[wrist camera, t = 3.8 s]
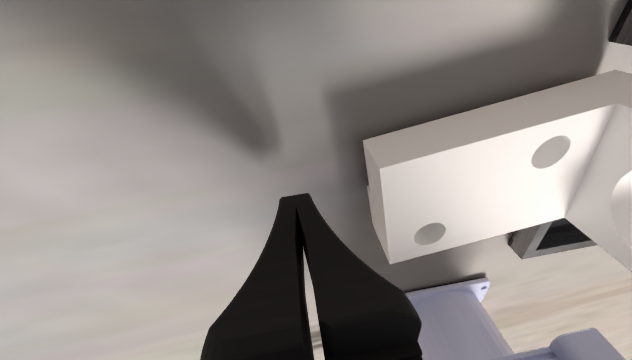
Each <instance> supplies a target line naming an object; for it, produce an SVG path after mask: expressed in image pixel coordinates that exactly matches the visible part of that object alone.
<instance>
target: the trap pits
mask: <svg viewBox="0 0 632 360" xmlns="http://www.w3.org/2000/svg"><path fill="white" fill-rule="evenodd" d="M609 42H614V43H620V44H625V45H630V46H632V0H629V1H628V3H627V5H626V7H625V9H624V11H623V13H622V15H621V17H620V19H619V21H618V23H617V25H616V27H615V29H614V31H613V33H612V35H611V37H610V39H609ZM508 245H509V246H510V247H511V248H512V249H513V250H514V252H515V253H516V254H517V255H518V256H519V257H520V258H521V259H526V258H531V257H536V256H542V255H547V254H552V253H557V252H563V251H568V250H573V249H579V248H584V247H589V246H595V245H598V244H596V243H595V242H594V241H593V240H591V239H590V238H589V237H588V236H586V235H585V234H584V233H583V232H582V231H580V230H579V229H578V228H577V227H575V226H574V225H573V224H572V223H570V222H569V221H568V220H567V219H565V218H561V219H558V220H554V221H550V222H546V223H543V224H539V225H535V226H532V227H528V228H524V229H520V230H517V231H514V233H513V235H512V237H511V239H510V241H509V243H508Z"/></svg>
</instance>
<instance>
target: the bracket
mask: <svg viewBox="0 0 632 360" xmlns="http://www.w3.org/2000/svg"><path fill="white" fill-rule="evenodd" d="M363 146H364V153H365V160H366V167H367V174H368V181H369V185H367V190H368V197H369V203H370V210H371V217H372V223H373V227H374V229H375V231H376V234H377V236H378V238H379V241H380V243H381V245H382V247H383V250H384V252H385V254H386V257H387V259H388V261H389V264H394V263H398V262H401V261H405V260H409V259H413V258H416V257H420V256H424V255H427V254H431V253H435V252H439V251H442V250H446V249H450V248H454V247H457V246H461V245H465V244H468V243H472V242H476V241H480V240H483V239H487V238H491V237H494V236H498V235H502V234H506V233H509V232H513V231H517V230H520V229H524V228H528V227H532V226H535V225H539V224H543V223H546V222H550V221H554V220H558V219H561V218H565V219H567V220H568V221H569V222H570V223H572V224H573V225H574V226H575V227H577V228H578V229H579V230H580V231H582V232H583V233H584V234H585V235H586V236H588V237H589V238H590V239H591V240H593V241H594V242H595V243H596V244H598V245H599V246H600V247H601V248H603V249H604V250H605V251H606V252H608V253H609V254H610V255H611V256H612V257H614V258H615V259H616V260H617V261H619V262H620V263H621V264H622V265H624V266H625V267H626V268H627V269H629V270H630V271H631V272H632V74H630V73H626V72H622V71H619V70H613V71H610V72H606V73H603V74H599V75H596V76H592V77H588V78H585V79H581V80H578V81H574V82H570V83H567V84H563V85H560V86H556V87H552V88H549V89H545V90H542V91H538V92H534V93H531V94H527V95H524V96H520V97H516V98H513V99H509V100H506V101H502V102H498V103H495V104H491V105H488V106H484V107H481V108H477V109H473V110H470V111H466V112H463V113H459V114H455V115H452V116H448V117H445V118H441V119H437V120H434V121H430V122H427V123H423V124H419V125H416V126H412V127H409V128H405V129H401V130H398V131H394V132H391V133H387V134H384V135H380V136H376V137H373V138H369V139H366V140H363Z"/></svg>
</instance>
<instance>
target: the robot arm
mask: <svg viewBox="0 0 632 360" xmlns="http://www.w3.org/2000/svg"><path fill="white" fill-rule="evenodd" d="M303 248H304V252H305V256H306V260H307V264H308V268H309V272H310V276H311V280H312V284H313V288H314V294H315V301H316V307H317V314H318V320H319V326H320V332H321V338H322V344H323V350H324V356H325V360H625V359H624V358H623V356H622V355H621V354H620V353H619V352H618V351H617V350H616V349H615V348H614V347H613V346H612V345H611V344H610V343H609V342H608V341H607V340H606V338H605V337H604V336H603V335H602V334H601V333H600V332H599V331H598V330H597V329H595V328H589V329H585V330H580V331H575V332H570V333H566V334H563V335H560V336H558V337H557V338H555V339H554V340H553V341H552V342H551V344H550V346H549V347H544V348H539V349H535V350H530V351H525V352H521V353H516V354H514V352H513V351H512V349H511V348H510V346H509V345H508V343H507V342H506V340H505V339H504V337H503V336H502V334H501V333H500V331H499V330H498V328H497V327H496V325H495V324H494V322H493V321H492V319H491V318H490V316H489V315H488V313H487V312H486V310H485V309H484V307H483V306H482V304H481V301H482V299H483V297H484V295H485V293H486V291H487V289H488V287H489V285H490V283H491V282H490V281H489V279H488V278H481V279H476V280H471V281H465V282H460V283H455V284H450V285H444V286H439V287H434V288H429V289H424V290H418V291H413V292H408V293H404V292H403V291H402V290H401V289H399V288H397V287H396V286H394V285H393V284H391V283H390V282H388V281H387V280H386V279H384V278H383V277H381V276H380V275H379V274H377V273H376V272H375V271H373V270H372V269H371V268H370V267H369V266H367V265H366V264H365V263H364V262H363V261H361V260H360V259H359V258H358V257H357V256H356V255H355V254H354V253H353V252H352V251H351V250H349V249H348V248H347V246H346V245H345V244H344V243H343V242H342V241H341V240H340V239H339V238H338V237H337V236H336V234H335V233H334V232H333V231H332V230H331V228H330V227H329V226H328V224H327V223H326V222H325V220H324V219H323V217H322V216H321V214H320V213H319V211H318V210H317V208H316V206H315V204H314V203H313V201H312V198H311V196H310V194H308V193H305V194H299V195H293V196H287V197H282V198H281V199H280V201H279V207H278V211H277V215H276V218H275V221H274V224H273V227H272V230H271V233H270V235H269V238H268V240H267V242H266V245H265V247H264V249H263V251H262V253H261V255H260V257H259V259H258V261H257V263H256V265H255V266H254V268H253V270H252V272H251V273H250V275H249V277H248V278H247V280H246V281H245V283H244V284H243V286H242V287H241V289H240V290H239V291H238V293H237V294H236V296H235V297H234V298H233V300H232V301H231V303H230V304H229V305H228V306H227V308H226V309H225V310H224V311H223V312H222V314H221V315H220V316H219V317H218V318H217V320H216V321H215V322H214V323H213V324H212V326H211V327H210V328H209V331H208V333H207V336H206V339H205V343H204V346H203V350H202V354H201V359H200V360H314V355H313V348H312V341H311V334H310V326H309V319H308V312H307V304H306V296H305V281H304V258H303Z"/></svg>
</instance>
